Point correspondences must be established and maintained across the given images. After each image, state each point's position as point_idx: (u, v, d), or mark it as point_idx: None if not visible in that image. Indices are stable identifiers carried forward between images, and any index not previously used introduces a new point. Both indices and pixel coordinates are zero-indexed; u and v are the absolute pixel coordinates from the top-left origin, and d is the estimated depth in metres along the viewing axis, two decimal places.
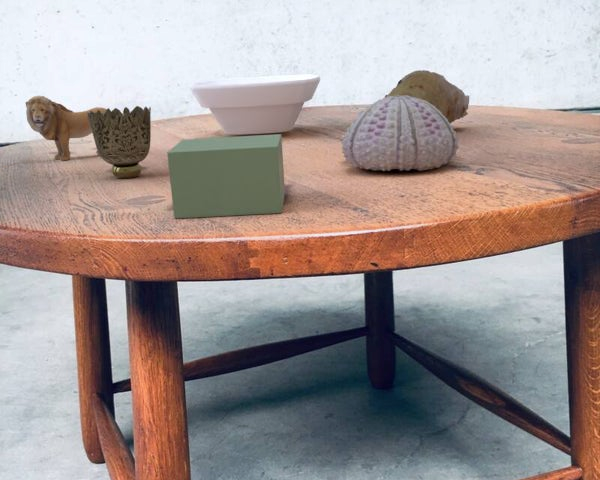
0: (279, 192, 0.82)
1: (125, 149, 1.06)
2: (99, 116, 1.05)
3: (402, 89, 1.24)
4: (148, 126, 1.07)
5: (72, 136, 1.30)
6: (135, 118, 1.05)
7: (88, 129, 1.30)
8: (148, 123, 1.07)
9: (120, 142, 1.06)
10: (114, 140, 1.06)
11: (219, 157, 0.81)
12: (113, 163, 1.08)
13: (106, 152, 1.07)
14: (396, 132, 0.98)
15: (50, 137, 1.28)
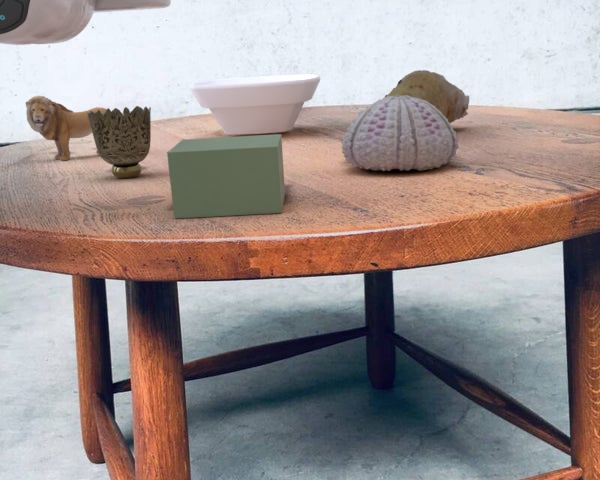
0: (279, 192, 0.82)
1: (125, 149, 1.06)
2: (99, 116, 1.05)
3: (402, 89, 1.24)
4: (148, 126, 1.07)
5: (72, 136, 1.30)
6: (135, 118, 1.05)
7: (88, 129, 1.30)
8: (148, 123, 1.07)
9: (120, 142, 1.06)
10: (114, 140, 1.06)
11: (219, 157, 0.81)
12: (113, 163, 1.08)
13: (106, 152, 1.07)
14: (396, 132, 0.98)
15: (50, 137, 1.28)
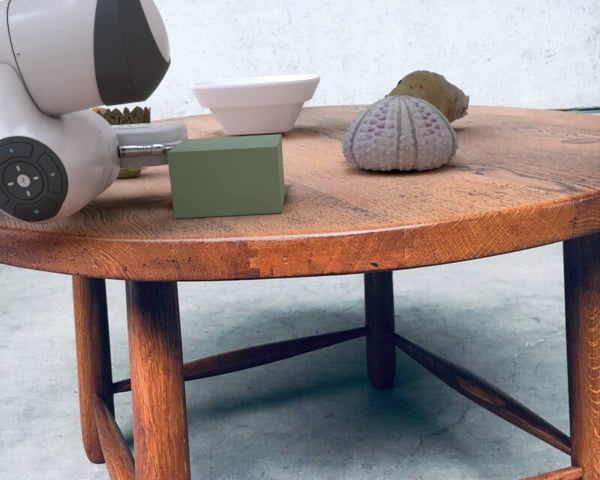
0: (279, 192, 0.82)
1: None
2: None
3: (402, 89, 1.24)
4: None
5: None
6: (135, 118, 1.05)
7: None
8: None
9: None
10: None
11: (219, 157, 0.81)
12: None
13: None
14: (396, 132, 0.98)
15: None
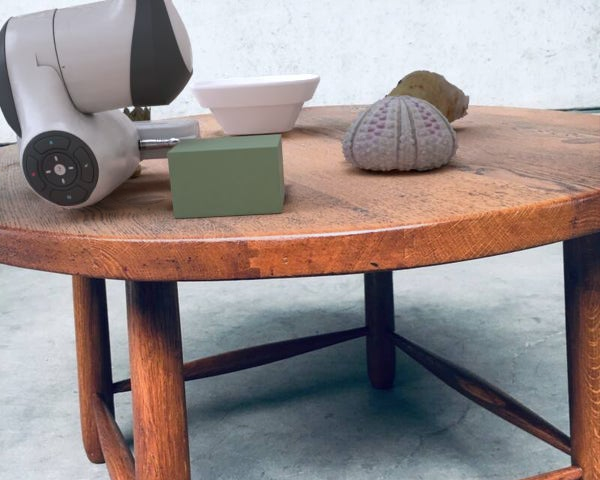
0: (279, 192, 0.82)
1: None
2: None
3: (402, 89, 1.24)
4: None
5: None
6: (135, 118, 1.05)
7: None
8: None
9: None
10: None
11: (219, 157, 0.81)
12: None
13: None
14: (396, 132, 0.98)
15: None
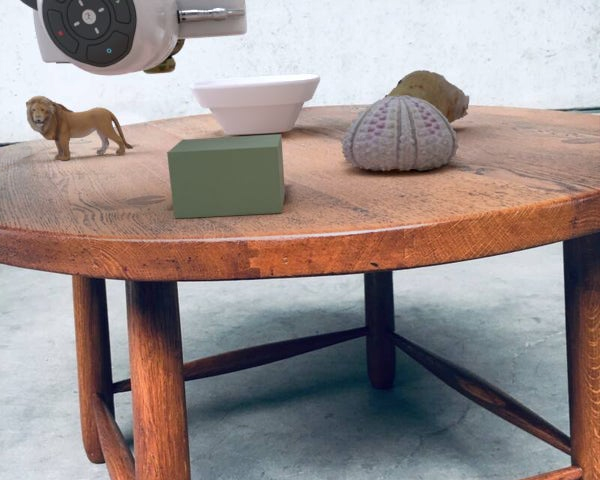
0: (279, 192, 0.82)
1: None
2: None
3: (402, 89, 1.24)
4: None
5: (73, 136, 1.30)
6: None
7: (88, 129, 1.30)
8: None
9: None
10: None
11: (219, 157, 0.81)
12: None
13: None
14: (396, 132, 0.98)
15: (50, 137, 1.28)
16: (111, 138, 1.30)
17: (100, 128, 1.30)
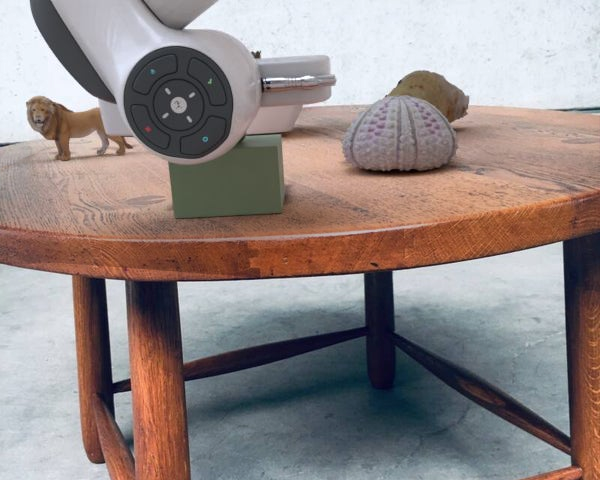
0: (279, 192, 0.82)
1: None
2: None
3: (402, 89, 1.24)
4: None
5: (73, 136, 1.30)
6: None
7: (88, 129, 1.30)
8: None
9: None
10: None
11: (219, 157, 0.81)
12: None
13: None
14: (396, 132, 0.98)
15: (50, 137, 1.28)
16: (111, 138, 1.30)
17: (100, 128, 1.30)
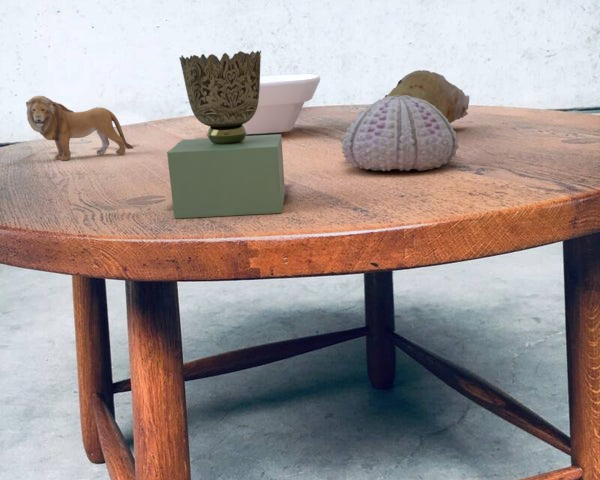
0: (279, 192, 0.82)
1: (230, 105, 0.81)
2: (198, 60, 0.80)
3: (402, 89, 1.24)
4: (258, 75, 0.82)
5: (73, 136, 1.30)
6: (244, 63, 0.80)
7: (88, 129, 1.30)
8: (258, 71, 0.82)
9: (224, 95, 0.81)
10: (216, 92, 0.81)
11: (219, 157, 0.81)
12: (212, 124, 0.83)
13: (204, 108, 0.82)
14: (396, 132, 0.98)
15: (50, 137, 1.28)
16: (111, 138, 1.30)
17: (100, 128, 1.30)
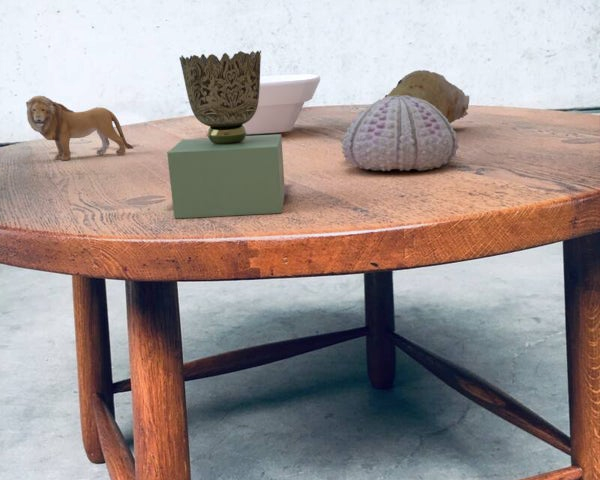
0: (279, 192, 0.82)
1: (230, 105, 0.81)
2: (198, 60, 0.80)
3: (402, 89, 1.24)
4: (258, 75, 0.82)
5: (73, 136, 1.30)
6: (244, 63, 0.80)
7: (88, 129, 1.30)
8: (258, 71, 0.82)
9: (224, 95, 0.81)
10: (216, 92, 0.81)
11: (219, 157, 0.81)
12: (212, 124, 0.83)
13: (204, 108, 0.82)
14: (396, 132, 0.98)
15: (51, 137, 1.28)
16: (111, 138, 1.30)
17: (100, 128, 1.30)
